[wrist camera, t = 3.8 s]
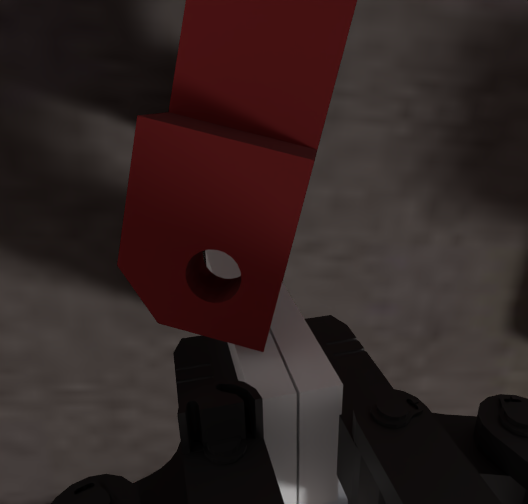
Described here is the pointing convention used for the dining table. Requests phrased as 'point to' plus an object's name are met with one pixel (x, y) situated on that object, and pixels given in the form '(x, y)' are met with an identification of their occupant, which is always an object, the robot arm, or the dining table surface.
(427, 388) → the dining table surface
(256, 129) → the bracket
